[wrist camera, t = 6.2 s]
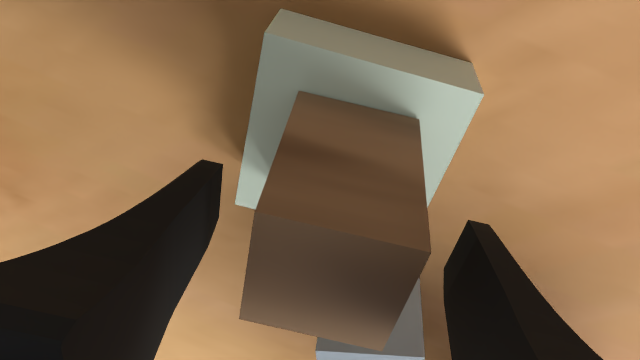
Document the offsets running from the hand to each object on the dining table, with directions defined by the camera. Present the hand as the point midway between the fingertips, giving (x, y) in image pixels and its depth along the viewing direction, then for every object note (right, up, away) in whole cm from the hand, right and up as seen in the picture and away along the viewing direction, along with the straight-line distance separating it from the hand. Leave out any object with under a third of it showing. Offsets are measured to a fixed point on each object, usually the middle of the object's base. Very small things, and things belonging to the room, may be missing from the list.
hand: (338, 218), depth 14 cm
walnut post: (0, +2, +3) cm, 3 cm away
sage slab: (+1, +4, +5) cm, 6 cm away
